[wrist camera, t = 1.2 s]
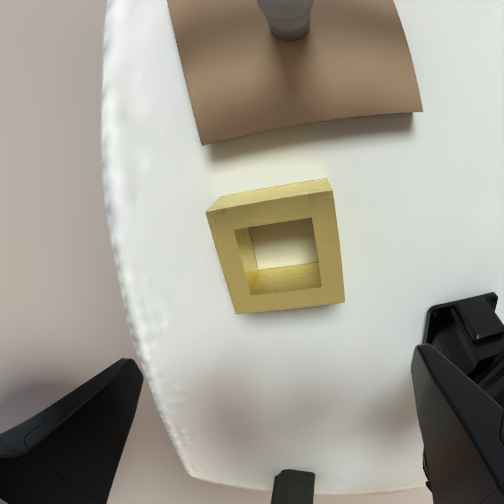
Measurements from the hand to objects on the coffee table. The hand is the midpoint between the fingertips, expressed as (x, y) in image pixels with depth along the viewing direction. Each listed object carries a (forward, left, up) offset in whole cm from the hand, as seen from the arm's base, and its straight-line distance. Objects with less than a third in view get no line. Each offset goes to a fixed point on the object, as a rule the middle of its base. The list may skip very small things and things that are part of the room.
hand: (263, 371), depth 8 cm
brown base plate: (+12, -3, -11) cm, 16 cm away
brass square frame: (0, 0, -11) cm, 11 cm away
